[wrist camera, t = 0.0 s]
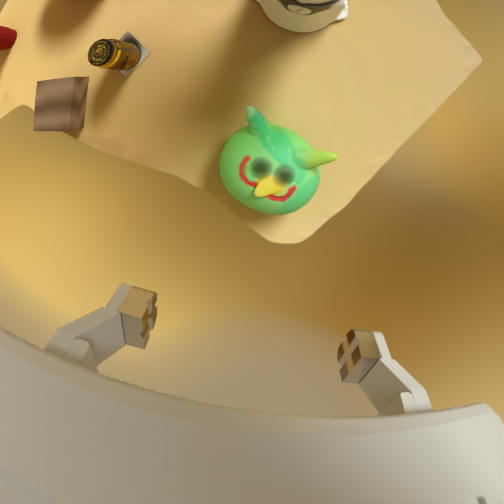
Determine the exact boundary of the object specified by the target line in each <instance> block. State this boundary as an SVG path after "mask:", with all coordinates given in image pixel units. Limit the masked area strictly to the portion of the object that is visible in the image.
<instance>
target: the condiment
mask: <svg viewBox="0 0 504 504" xmlns="http://www.w3.org/2000/svg"><path fill="white" fill-rule="evenodd" d="M149 54H150V53H149V52H148V51H147V50H146V49H145V48H144V47H143V46H142V45H141V44H140V43H139V42H138V41H137V40H136V39H135V38H134V37H133V36H132V35H131V34H130V33H129V32H128V31H127V33H125V35H124V36H123V37H122V38H121V39H120V40H116V39H108V40H107V39H101V40H99V41H96V42H95V43H94V44H93V45H92V46H91V47H90V49H89V52H88V60H89V62H90V63H91V64H92V65H95V66H98V67H100V68H105V69H117V70H119V71H120V72H121V74H122V75H123V76H124V77H125V78H126V77H127V76H128V75H129V74H130V73H131V72H132V71H133V70H134V69H135V68H136V67H137V66H138V65H139V64H140V63H141V62H142V61H143V60H144V59H145V58H146V57H147V56H148V55H149Z"/></svg>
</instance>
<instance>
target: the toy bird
mask: <svg viewBox="0 0 504 504" xmlns="http://www.w3.org/2000/svg"><path fill="white" fill-rule="evenodd" d="M246 117H247V121H248V126H245V127H243V128H241V129H239V130H238V131H236V132H235V133H234V134H233V135H232V136H231V137H230V138H229V139H228V141H227V142H226V144H225V145H224V147H223V150H222V152H221V155H220V160H219V172H220V177H221V180H222V182H223V184H224V186H225V188H226V189H227V190H228V192H229V193H230V194H231V195H232V196H233V197H234V198H235V199H237V200H238V201H239V202H241V203H242V204H244V205H245V206H247V207H249V208H251V209H253V210H256V211H259V212H262V213H266V214H273V215H282V214H288V213H292V212H294V211H297V210H298V209H300V208H302V207H303V206H304V205H306V204H307V203H308V202H309V201H310V199H311V198H312V197H313V195H314V194H315V192H316V190H317V187H318V184H319V180H320V165H323V164H326V163H330V162H332V161H334V160H336V159H337V155H336V154H334V153H332V152H328V151H321V150H313V149H312V148H311V146H310V145H309V144H308V143H307V142H306V141H305V140H304V139H302V138H301V137H300V136H299V135H297V134H295V133H294V132H292V131H290V130H288V129H286V128H283V127H281V126H277V125H273V124H270V123H269V122H268V121H267V120H266V119H265V117H264V116H263V115H262V114H261V113H260V112H259V111H258V110H257V109H256V108H255V107H253V106H247V107H246Z"/></svg>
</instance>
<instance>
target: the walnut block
mask: <svg viewBox="0 0 504 504" xmlns="http://www.w3.org/2000/svg"><path fill="white" fill-rule="evenodd" d="M88 82H89V77H70V78H60V79H52V80H45V81H38V82H37V89H36V99H35V116H34V131H72V130H76V129H79V128H82V127H84V118H85V107H86V97H87V89H88Z"/></svg>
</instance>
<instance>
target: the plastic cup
mask: <svg viewBox="0 0 504 504" xmlns="http://www.w3.org/2000/svg"><path fill="white" fill-rule="evenodd" d="M16 37H17V32H16V30H13V29H9V28H7V27H3V26H0V51H1V50H5V49H8V48H10V47H11V46H12V45H13V44H14V42H15V40H16Z"/></svg>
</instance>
